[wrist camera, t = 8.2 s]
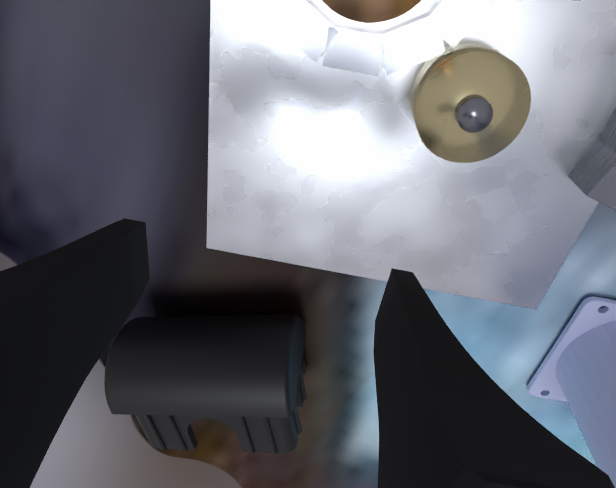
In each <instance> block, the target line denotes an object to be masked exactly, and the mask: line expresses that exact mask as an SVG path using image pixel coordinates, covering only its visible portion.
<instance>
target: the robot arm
mask: <svg viewBox="0 0 616 488" xmlns="http://www.w3.org/2000/svg"><path fill="white" fill-rule="evenodd" d="M149 278H150V277H149V264H148V250H147V237H146V224H145V222H140V221H135V220H130V219H123V220H120V221H117V222H115V223H113V224H110V225H108V226H106V227H104V228H102V229H100V230H97V231H95V232H93V233H91V234H89V235H87V236H85V237H82V238H80V239H78V240H76V241H74V242H72V243H69V244H67V245H65V246H63V247H61V248H58V249H56V250H54V251H51V252H49V253H46V254H44V255H42V256H39V257H37V258H34V259H32V260H30V261H27V262H25V263H22V264H20V265H17V266H14V267H12V268H9V269H6V270H3V271H0V488H30V485H31V483H32V481H33V479H34V477H35V475H36V473H37V471H38V469H39V467H40V465H41V462H42V461H43V458H44V456H45V454H46V452H47V450H48V448H49V446H50V444H51V442H52V440H53V438H54V436H55V434H56V432H57V431H58V429H59V427H60V425H61V423H62V421H63V419H64V417H65V415H66V413H67V411H68V409H69V408H70V406H71V404H72V402H73V400H74V398H75V397H76V395H77V393H78V391H79V389H80V388H81V386H82V384H83V382H84V380H85V379H86V377H87V376H88V374H89V373H90V371H91V369H92V368H93V367H94V365H95V363H96V362H97V361H98V359H99V358H100V357H101V355H102V354H103V352H104V351H105V349H106V348H107V347H108V345H109V344H110V342H111V341H112V340H113V338H114V337H115V335H116V334H117V332H118V331H119V330H120V328H121V327H122V325H123V324H124V322H125V321H126V320H127V318H128V317H129V315H130V314H131V312H132V311H133V309H134V308H135V306H136V304H137V302H138V301H139V299H140V297H141V295H142V293H143V291H144V289H145V287H146V285H147V283H148V280H149ZM602 306H604V307H603V308H600V307H602ZM599 308H600V309H599ZM374 364H375V378H376V391H377V404H378V417H379V470H378V488H616V300H611V299H605V298H600V297H588V298H586V299H584V300H583V301H582V303H581V304H580V306H579V307H578V309H577V310H576V312H575V313H574V315H573V316H572V318H571V319H570V321H569V323H568V324H567V326H566V327H565V329H564V330H563V332H562V333H561V335H560V336H559V338H558V339H557V341H556V343H555V344H554V346H553V347H552V349H551V350H550V352H549V353H548V355H547V356H546V358H545V359H544V361H543V362H542V364H541V366H540V367H539V369H538V370H537V372H536V373H535V375H534V376H533V378H532V379H531V381H530V382H529V384H528V386H527V390H528V392H529V394H530V395H532V396H536V397H541V398H547V399H552V400H557V401H562V402H568V404H569V406H570V409H571V411H572V413H573V415H574V417H575V420H576V422H577V424H578V426H579V428H580V430H581V433H582V435H583V437H584V439H585V441H586V444H587V446H588V448H589V450H590V452H591V454H592V457H593V459H594V461H595V463H596V465H597V467H596V466H595V465H594V464H592V463H591V462H589V461H588V460H587V459H585V458H584V457H583V456H581V455H580V454H578V453H577V452H576V451H574V450H573V449H571V448H570V447H569V446H567V445H566V444H565V443H563V442H562V441H561V440H559V439H558V438H557V437H556V436H554V435H553V434H552V433H551V432H550V431H548V430H547V429H546V428H545V427H543V426H542V425H541V424H540V423H538V422H537V421H536V420H535V419H534V418H533V417H531V416H530V415H529V414H528V413H527V412H526V411H524V410H523V409H522V408H521V407H520V406H519V405H518V404H517V403H516V402H515V401H514V400H513V399H511V398H510V397H509V396H508V395H507V394H506V393H505V392H504V391H503V390H502V389H501V388H500V387H499V386H498V385H497V384H496V383H495V382H494V381H493V380H492V379H491V378H490V377H489V376H488V375H487V374H486V373H485V371H484V370H483V369H482V368H481V367H480V366H479V365H478V364H477V363H476V362H475V360H474V359H473V358H472V357H471V356H470V355H469V353H468V352H467V351H466V350H465V349H464V347H463V346H462V345H461V343H460V342H459V341H458V340H457V338H456V337H455V336H454V334H453V333H452V332H451V330H450V329H449V328H448V326H447V325H446V323H445V322H444V320H443V319H442V317H441V316H440V314H439V313H438V311H437V310H436V308H435V307H434V305H433V304H432V302H431V301H430V299H429V297H428V296H427V294H426V292H425V291H424V289H423V288H422V286H421V284H420V283H419V281H418V279H417V278H416V276H415V275H414V273H413V272H409V271H404V270H398V269H393V268H392V269H391V272H390V276H389V279H388V282H387V285H386V288H385V292H384V295H383V298H382V301H381V304H380V308H379V311H378V314H377V317H376V320H375V335H374Z"/></svg>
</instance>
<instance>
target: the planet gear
mask: <svg viewBox="0 0 616 488" xmlns="http://www.w3.org/2000/svg"><path fill="white" fill-rule="evenodd" d="M322 1H323V3H324V4H325V5H327V6H328V7H329V8H330V9H331V10H332V11H334V12H335V13H337V14H338V15H340V16H342V17H345V18H347V19H349V20H353V21H356V22H362V23H378V22H384V21H388V20H391V19H394V18H396V17H399V16H401V15H403V14H405V13H406V12H408V11H410V10H411V9H412V8H414V7H415V6H416V5H417V4H419V3H420V2H421V1H422V0H322Z"/></svg>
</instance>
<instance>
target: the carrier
mask: <svg viewBox="0 0 616 488" xmlns="http://www.w3.org/2000/svg"><path fill="white" fill-rule="evenodd" d="M599 202H600V203H602V204H604V205H606V206H608V207H610V208H612V209H614V210H616V0H422V1H421V2H420V3H419V4H417V5H416V6H415V7H414V8H412V9H411V10H410V11H408V12H406V13H405V14H403V15H401V16H399V17H396V18H394V19H391V20H388V21H384V22H378V23H362V22H356V21H353V20H349V19H347V18H345V17H342V16H340V15H338V14H337V13H335V12H334V11H332V10H331V9H330V8H329V7H328V6H327V5H325V4H324V3H323V1H322V0H211V13H210V75H209V137H208V199H207V248H210V249H215V250H221V251H226V252H231V253H237V254H242V255H248V256H253V257H258V258H264V259H269V260H274V261H280V262H285V263H290V264H296V265H301V266H306V267H312V268H317V269H322V270H328V271H333V272H339V273H344V274H349V275H355V276H360V277H365V278H371V279H376V280H381V281H387V282H388V279H389V276H390V272H391V269H392V268H393V269H398V270H404V271H409V272H413V273H414V275H415V276H416V278H417V279H418V281H419V283H420V284H421V286H422V288H424V289H430V290H435V291H440V292H446V293H451V294H456V295H462V296H467V297H472V298H478V299H483V300H488V301H494V302H499V303H505V304H510V305H515V306H521V307H526V308H531V309H537V308H538V306H539V304H540V303H541V301H542V299H543V297H544V296H545V294H546V292H547V291H548V289H549V287H550V285H551V284H552V282H553V280H554V278H555V277H556V275H557V273H558V272H559V270H560V268H561V266H562V265H563V263H564V261H565V260H566V258H567V256H568V254H569V253H570V251H571V249H572V248H573V246H574V244H575V242H576V241H577V239H578V237H579V236H580V234H581V232H582V230H583V229H584V227H585V225H586V223H587V222H588V220H589V218H590V217H591V215H592V213H593V211H594V210H595V208H596V206H597V205H598V203H599Z"/></svg>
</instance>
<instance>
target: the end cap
mask: <svg viewBox="0 0 616 488" xmlns="http://www.w3.org/2000/svg"><path fill="white" fill-rule="evenodd" d="M305 337H306V332H305V327H304V324H303V322H302V320H301V318H300V317H299V316H298V315H296V314H281V315H228V316H175V317H138V318H135V319H133V320H131V321H129V322H128V323H127V324H125V325H124V326H123V327H122V329H121V330H120V331H119V332H118V334H117V336H116V337H115V339H114V341H113V343H112V346H111V348H110V351H109V354H108V358H107V362H106V368H105V383H104V384H105V395H106V399H107V403H108V406H109V408H110V411H111V413H113V414H131V415H135V416H136V418H137V420H138V422H139V423H140V425H141V427H142V429H143V431H144V433H145V435H146V437H147V439H148V441H149V442H150V444H151V446H152V447H153V448H157V449H161V450H164V449H182V450H195V449H196V446H197V443H198V442H197V440H196V438H195V435H194V433H193V431H192V428H191V425H190V423H192V422H193V421H196V420H199V419H212V420H217V421H220V422H223V423H225V424H227V425H228V426H230V427H231V428H232V429H233V430H234V431H235V432H236V434H237V436H238V438H239V441H240V444H241V447H242V450H243V452H250V453H254V452H270V453H273V454H276V453H288V452H291V451H292V450H293V449H294V448H295V447H296V445H297V441H298V435H299V434H300V433H301V432H302V427H301V423H300V418H299V413H298V409H297V407H303V401H305V400H306V398H307V396H306V391H305V385H304V380H303V374H305V373H306V367H307V361H306V356H305V350H304V343H305Z"/></svg>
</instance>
